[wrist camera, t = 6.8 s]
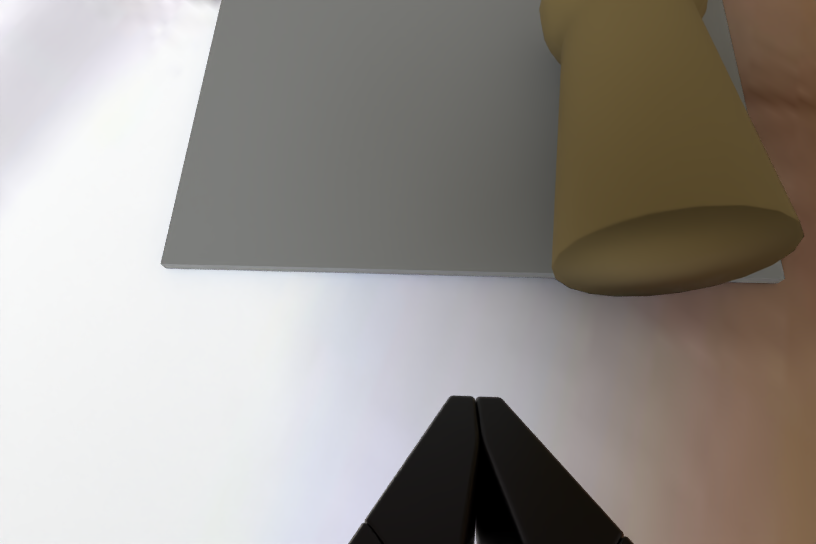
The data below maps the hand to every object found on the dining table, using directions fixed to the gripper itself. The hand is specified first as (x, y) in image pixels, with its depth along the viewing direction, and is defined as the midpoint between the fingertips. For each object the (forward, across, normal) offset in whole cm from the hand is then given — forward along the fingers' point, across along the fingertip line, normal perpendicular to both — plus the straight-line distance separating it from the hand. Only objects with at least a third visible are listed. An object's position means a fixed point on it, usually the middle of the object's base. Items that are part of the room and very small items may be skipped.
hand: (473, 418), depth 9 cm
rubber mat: (+15, 0, -5) cm, 15 cm away
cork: (+6, -5, 0) cm, 8 cm away
